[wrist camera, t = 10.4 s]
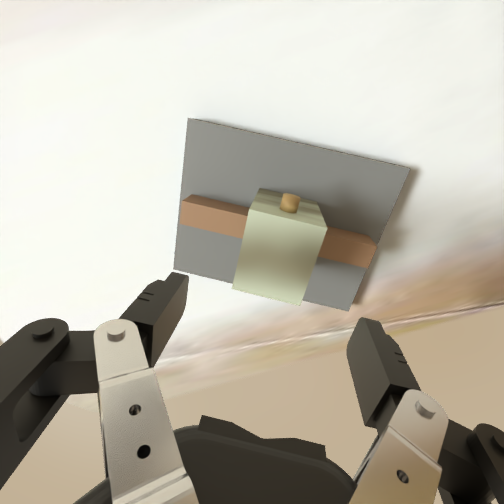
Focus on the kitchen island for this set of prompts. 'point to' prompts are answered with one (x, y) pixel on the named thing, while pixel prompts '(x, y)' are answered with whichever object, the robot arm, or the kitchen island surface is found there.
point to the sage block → (279, 246)
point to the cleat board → (283, 181)
